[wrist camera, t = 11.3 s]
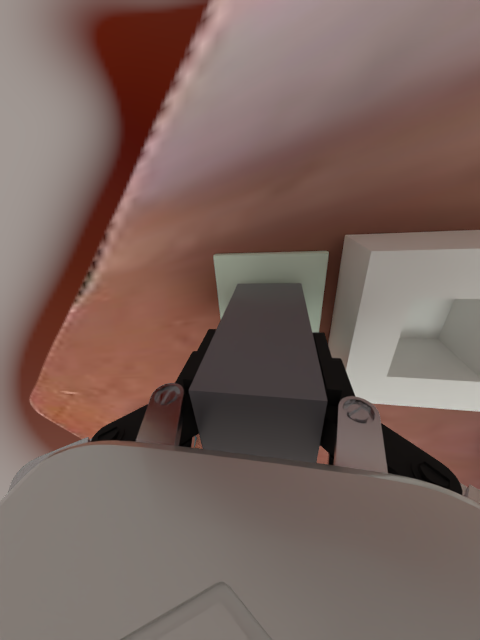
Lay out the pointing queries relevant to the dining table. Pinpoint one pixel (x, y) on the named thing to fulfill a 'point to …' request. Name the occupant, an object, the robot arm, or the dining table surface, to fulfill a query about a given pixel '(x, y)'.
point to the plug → (262, 377)
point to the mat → (274, 275)
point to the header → (410, 318)
